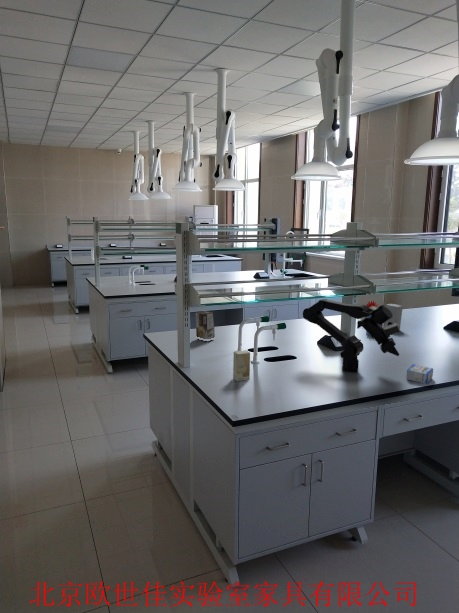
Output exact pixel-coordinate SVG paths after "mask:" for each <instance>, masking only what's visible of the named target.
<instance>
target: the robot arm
mask: <svg viewBox="0 0 459 613" xmlns="http://www.w3.org/2000/svg"><path fill="white" fill-rule="evenodd" d="M325 309H326V310H330V311H335V312H338V313H343V314H345V315H348V316H349V317H351V318H354V319H356V320H357V322H356V324H357V329H360V328H362V329H364V330H365V331H367V332H368V333H369V334H370V335H369V336H370V337H371V339H373V340H374V341H375V342H376V343H377V346H378V345H379V346H380V347H379V349H380V351H381V352H382V353H383V354H386V353H389V354H391V355H393V356H396V357H399V356H400V353H399V351H398V349H397V348H396V347H395V346H396V342H395V340H394V338H393V337H391V335H394V334H398V333H400V332H401V329H400V330H399V328H398V326H397V324H396V323H394V324H393V323H392V322H391V321H390V322H387V326H386V327H384V328H383V327H382V326H380V325H382V324H383V325H384V323H385V322H386V321H388V320H389V319H391V318H392V317H393V315H392V313H391V311H390V310H389V309H387V308H386V306H385V305H384V304H380V305H379V306H377V309H376V310H373V309H370V308H368V307H367V304H365V303H361V304H360V303H357V304H356V303H353V304H349V303H344V302H340V301H335V300H331V299H327V298H322V299H319V300H317V302H315V303H314V304H312V305H311V306H310V307H307V308H305V309H303V311H302V318H303V319H304V320H306V321H307V322H309V323H312V324H315V325H317V326H318V327H320V328H321V329H322V330H324V332H325V333H327V334H328V335H329V336H330V337H332V338H333V339H334V340H336V341H337V342H338V343H339V344H340V345H341V348H342V351H341V352H340V354H339V355H340V357H341V359H342V365H341V370H342V372H352V373H353V372H354V373H358V370H359V361H360V360H359V359H358V356H360V353H362V352H363V351H364V343H363V342H362V340H361V339H359V338H358V337H357V336H356V335H351V336H349V335H347V334H346V333H345V332H344V331H342V330H341V329H339V327H337V326H335V325H334V323H332V322H331V321H330V320H328V319H327V318H326V317H325V316H324V314H323V311H324V310H325ZM368 316H371V317H369V318H365V319H363V320H362V321H360V320H361V318H364V317H368ZM379 324H380V325H379Z"/></svg>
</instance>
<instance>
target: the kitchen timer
mask: <svg viewBox="0 0 459 613" xmlns="http://www.w3.org/2000/svg"><path fill="white" fill-rule="evenodd" d="M365 305H367V307H368V308H370V309H373V310H376V309H377V308H378V307H379V306H378V305H379V304H377V302H376V301H374V300H373V301H372V300H371V301H368V302H366V304H365ZM365 318H367V317H364V318H361V319H359V321H362V320H363V319H365Z"/></svg>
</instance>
